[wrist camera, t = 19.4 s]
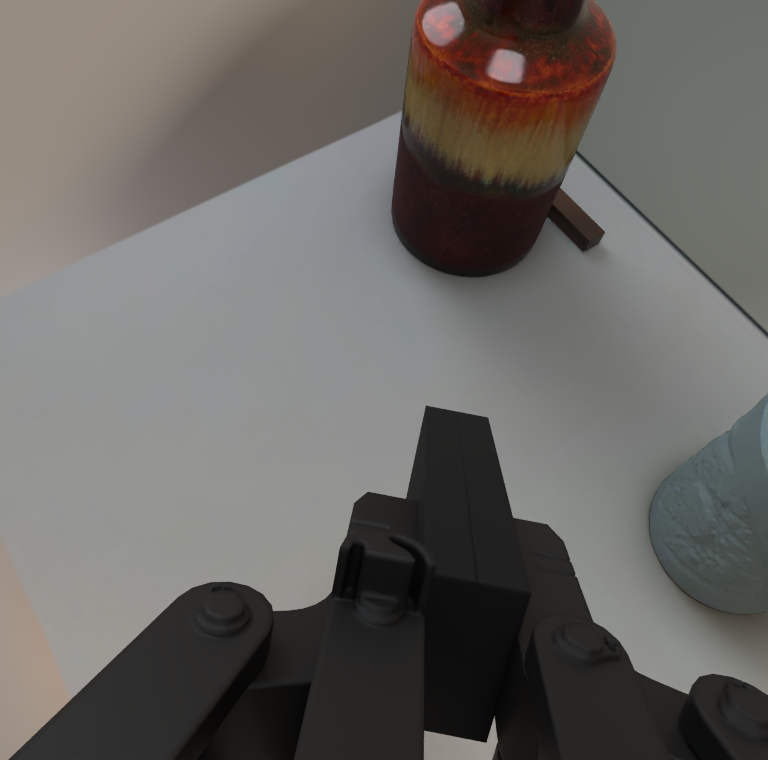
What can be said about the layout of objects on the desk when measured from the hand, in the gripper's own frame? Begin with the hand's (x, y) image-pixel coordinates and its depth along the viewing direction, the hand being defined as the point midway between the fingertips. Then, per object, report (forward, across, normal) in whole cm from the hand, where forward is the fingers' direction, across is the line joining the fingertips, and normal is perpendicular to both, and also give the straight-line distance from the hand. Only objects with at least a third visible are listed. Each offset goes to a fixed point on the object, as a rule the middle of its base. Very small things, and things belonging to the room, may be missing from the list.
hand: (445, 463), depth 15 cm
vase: (+33, +1, +4) cm, 34 cm away
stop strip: (+36, +6, +7) cm, 37 cm away
